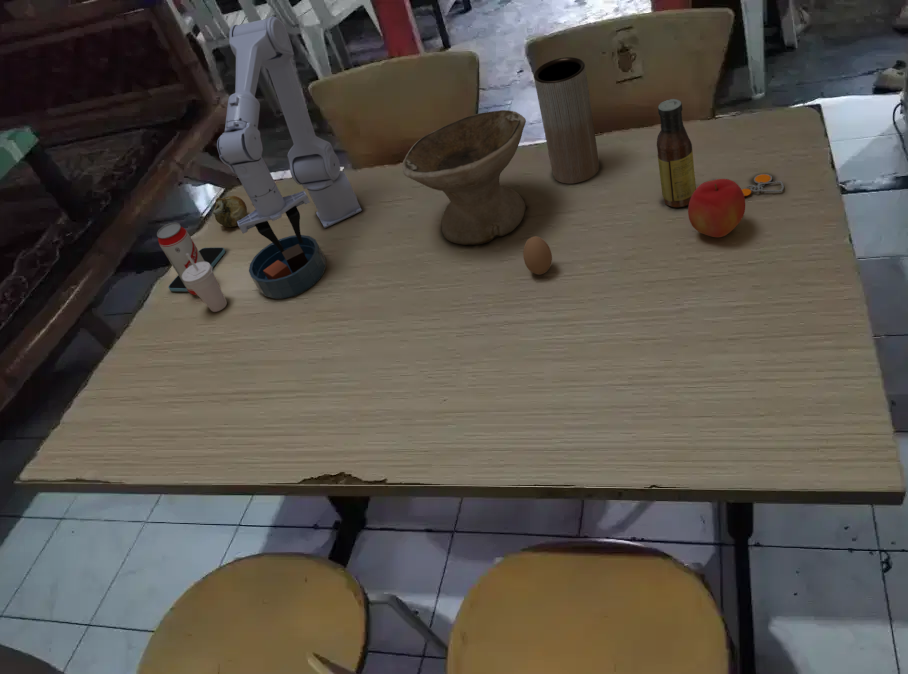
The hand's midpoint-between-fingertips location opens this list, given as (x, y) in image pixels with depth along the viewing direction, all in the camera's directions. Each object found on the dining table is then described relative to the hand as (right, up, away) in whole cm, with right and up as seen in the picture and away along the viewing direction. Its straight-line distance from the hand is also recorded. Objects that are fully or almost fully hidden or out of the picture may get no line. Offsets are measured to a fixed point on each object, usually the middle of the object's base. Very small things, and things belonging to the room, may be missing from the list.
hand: (291, 245), depth 150 cm
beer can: (-23, -7, +13) cm, 27 cm away
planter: (+60, +17, +7) cm, 62 cm away
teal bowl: (-1, -5, +7) cm, 9 cm away
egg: (+50, -8, -13) cm, 52 cm away
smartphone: (-26, -3, +19) cm, 32 cm away
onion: (-21, +11, +30) cm, 38 cm away
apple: (+81, -1, -18) cm, 83 cm away
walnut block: (0, -3, +8) cm, 9 cm away
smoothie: (-17, -12, +7) cm, 22 cm away
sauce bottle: (+77, +7, -9) cm, 78 cm away
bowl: (+40, +6, +4) cm, 40 cm away
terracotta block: (-3, -7, +5) cm, 9 cm away
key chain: (+89, +9, -12) cm, 90 cm away
